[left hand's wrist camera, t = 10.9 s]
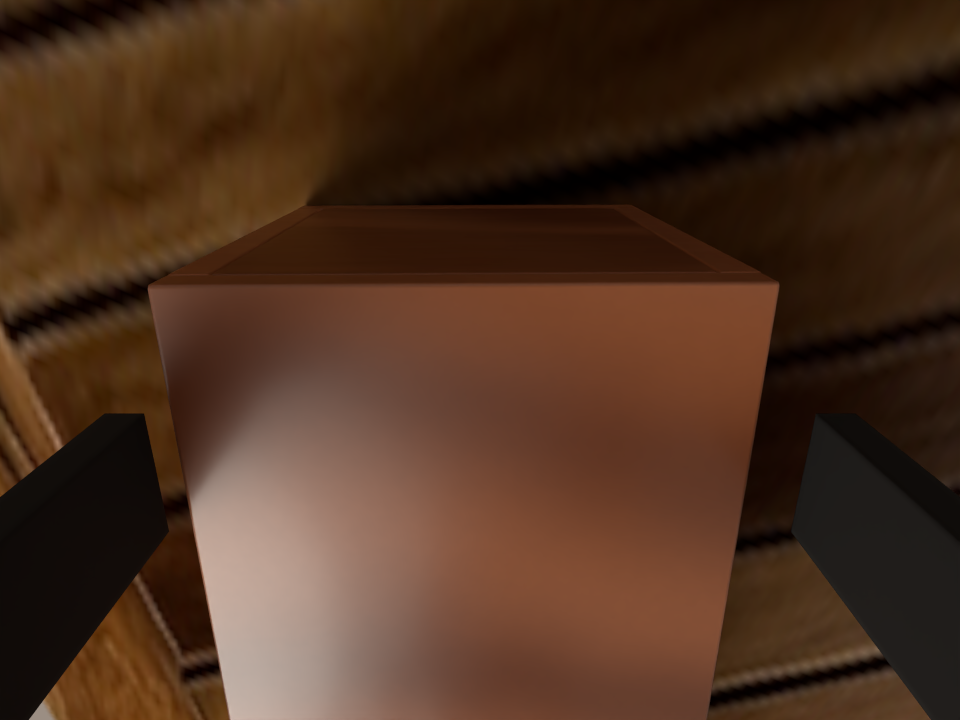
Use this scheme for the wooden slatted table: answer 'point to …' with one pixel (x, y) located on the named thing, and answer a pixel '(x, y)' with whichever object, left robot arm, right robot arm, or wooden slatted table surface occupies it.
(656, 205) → the wooden slatted table surface
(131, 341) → the wooden slatted table surface
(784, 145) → the wooden slatted table surface
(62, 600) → the left robot arm
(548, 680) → the cabinet
